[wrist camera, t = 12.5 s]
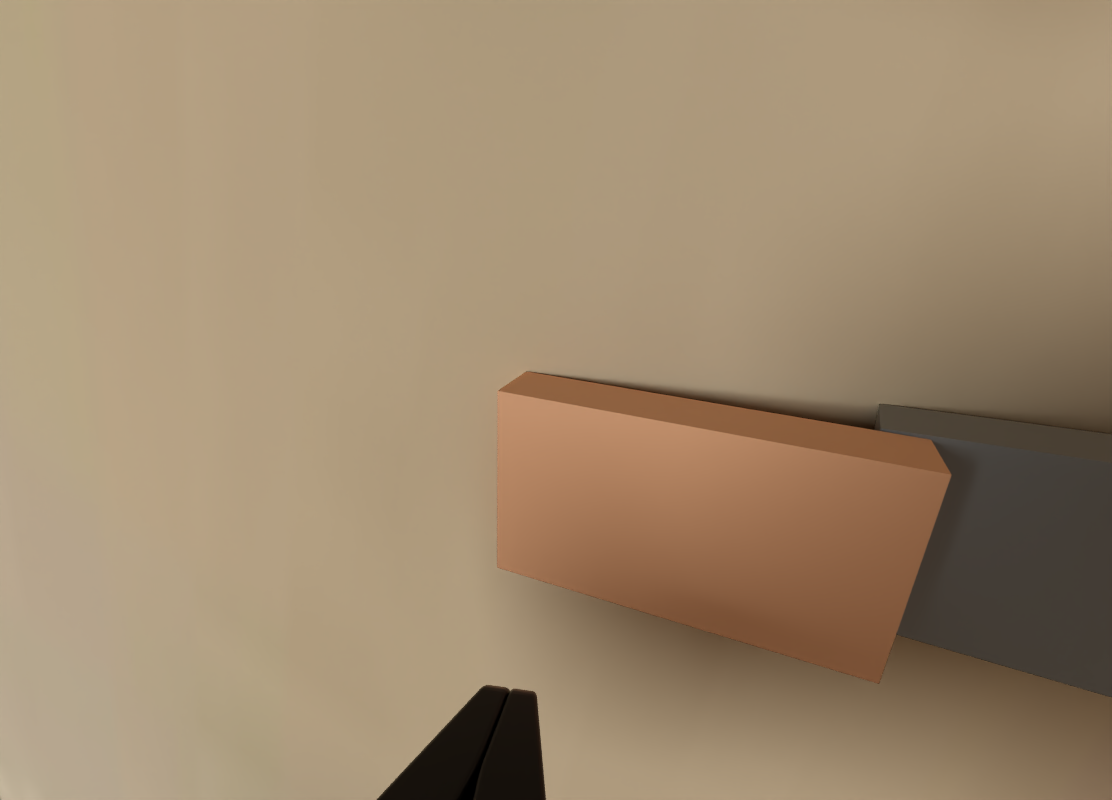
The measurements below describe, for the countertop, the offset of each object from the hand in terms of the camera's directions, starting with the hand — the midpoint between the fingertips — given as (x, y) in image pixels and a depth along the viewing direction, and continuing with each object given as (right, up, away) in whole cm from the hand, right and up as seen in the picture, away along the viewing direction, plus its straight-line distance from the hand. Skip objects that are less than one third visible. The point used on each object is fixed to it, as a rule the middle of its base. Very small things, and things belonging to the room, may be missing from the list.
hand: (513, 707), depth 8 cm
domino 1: (0, +3, +6) cm, 6 cm away
